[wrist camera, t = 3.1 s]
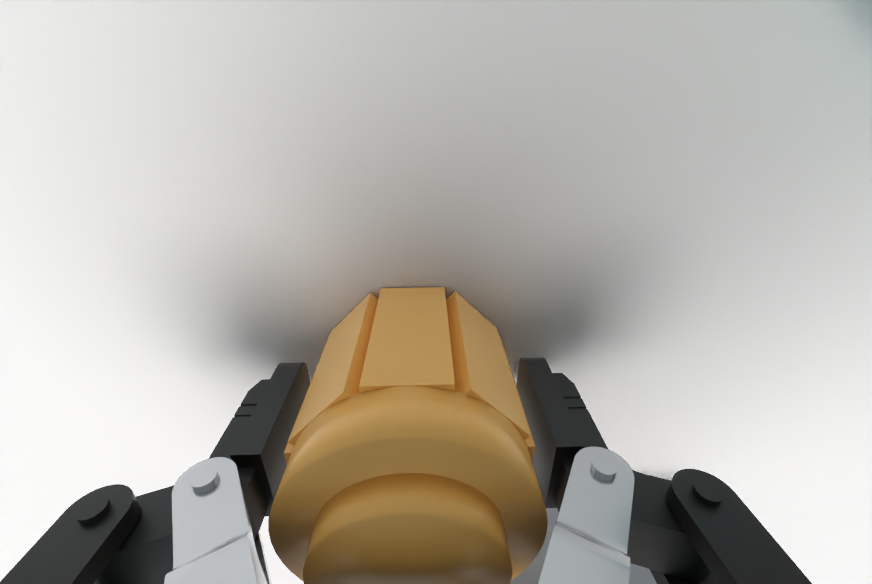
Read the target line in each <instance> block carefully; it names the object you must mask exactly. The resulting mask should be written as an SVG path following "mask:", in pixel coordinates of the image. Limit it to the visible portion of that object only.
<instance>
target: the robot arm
mask: <svg viewBox="0 0 872 584" xmlns="http://www.w3.org/2000/svg"><path fill="white" fill-rule="evenodd" d="M309 386H310V380H309V375H308V370H307V366H306V364H305V363H280V364H279V365H278V366H277V368H276V370H275V372H274V374H273V375H272V377H271V379H268V380H261V381H260V382H259V383H257V384H256V385H255V386H254V387H253V388H252V389H250V390H249V391H248V393H247V395H246V396H245V398H244V400H243V401H242V403H241V407H239V408H238V410H237V412H236V413H235V417H234V418H232V420H231V422H230V424H229V425H228V427H227V429H226V430H225V432H224V434H223V435H222V437H221V439H220V441H219V442H218V444H217V446H216V447H215V449H214V451H213V452H212V454H211V456H210V458H209V459H207V460H204V461H201V462H199V463H197V464H195V465H194V466H192V467H191V468H189V469H188V470H187V471H186V472H184V473H183V474H182V475H181V476H180V478H179V479H178V480H177V482H176V483H175V485H174V486H171V487H168V488H164V489H161V490H157V491H154V492H151V493H147V494H144V495H140V496H137V497H135V495H134V494H133V492H132V490H131V489H130V488H129V487H127V486H125V485H110V486H106V487H102V488H100V489H97V490H95V491H93V492H91V493H89V494H87V495H85V496H83V497H82V498H80V499H79V500H78V501H76V502H75V503H74V504H72V505H71V506H70V507H69V508H68V509H67V510H66V511H65V512H64V513H63V514H62V515H61V516H60V517H59V519H58V520H57V521H56V522H55V523H54V524H53V525H52V526H51V527H50V528H49V529H48V531H47V532H46V533H45V534H44V535H43V536H42V537H41V538H40V539H39V540H38V541H37V543H36V544H35V545H34V546H33V547H32V548H31V549H30V550H29V551H28V552H27V553H26V555H25V556H24V557H23V558H22V559H21V560H20V561H19V562H18V563H17V564H16V565H15V566H14V568H13V569H12V570H11V571H10V572H9V573H8V574H7V575H6V576H5V577H4V578H3V580H2V581H1V582H0V584H271V580H270V575H269V571H268V566H267V562H266V557H265V553H264V548H263V544H262V539H261V535H260V532H259V529H260V527H261V524H262V521H263V519H264V516H269V515H270V511H271V507H272V504H273V501H274V499H275V496H276V493H277V491H278V488H279V485H280V482H281V480H282V477H283V474H284V472H285V469H286V466H287V463H286V460H285V456H284V451H285V449H286V446H287V444H288V439H289V437H290V434H291V432H292V429H293V426H294V424H295V421H296V419H297V416H298V414H299V411H300V409H301V406H302V404H303V401H304V398H305V396H306V393H307V391H308V388H309ZM516 387H517V390H518V393H519V397H520V400H521V403H522V406H523V409H524V412H525V416H526V419H527V422H528V425H529V428H530V431H531V435H532V438H533V441H534V444H535V451H534V457H533V466H534V470H535V473H536V477H537V480H538V483H539V487H540V490H541V494H542V497H543V500H544V504H545V507H546V508H557V510H558V513H559V515H558V519H557V522H556V523H555V526H554V529H553V533H552V536H551V540H550V543H549V547H548V551H547V554H546V558H545V561H544V565H543V568H542V572H541V576H540V579H539V583H538V584H629V575H630V563H632V564H635V565H638V566H642V567H645V568H648V569H650V571H651V573H652V575H653V577H654V579H655V581H656V583H657V584H812V583H811V582H810V581H809V580H808V579H807V577H806V576H805V575H804V574H803V573H802V571H801V570H800V569H799V568H798V567H797V566H796V564H795V563H794V562H793V561H792V560H791V558H790V557H789V556H788V555H787V554H786V553H785V551H784V550H783V549H782V548H781V547H780V545H779V544H778V543H777V542H776V541H775V540H774V538H773V537H772V536H771V535H770V534H769V532H768V531H767V530H766V529H765V528H764V527H763V525H762V524H761V523H760V522H759V521H758V519H757V518H756V517H755V516H754V515H753V514H752V512H751V511H750V510H749V509H748V508H747V506H746V505H745V504H744V503H743V502H742V501H741V499H740V498H739V497H738V496H737V495H736V493H735V492H734V491H733V490H732V489H731V488H730V487H729V486H728V485H726V484H725V483H724V482H723V481H721V480H720V479H718V478H716V477H715V476H713V475H711V474H709V473H706V472H703V471H700V470H695V469H684V470H680V471H678V472H677V473H675V475H674V476H673V478H672V481H670V480H666V479H662V478H657V477H653V476H649V475H645V474H642V473H639V472H636V471H634V470H632V469H631V467H630V466H629V464H628V463H627V462H626V461H625V460H624V459H623V458H622V457H621V456H619V455H618V454H616V453H615V452H613V451H611V450H608V448H607V446H606V444H605V442H604V440H603V439H602V437H601V435H600V433H599V431H598V429H597V427H596V425H595V423H594V421H593V419H592V417H591V415H590V414H589V412H588V410H587V409H586V406H585V404H584V402H583V400H582V399H581V396H580V394H579V392H578V390H577V389H576V387H575V385H574V383H572V382H571V381H570V380H569V379H568V378H567V377H566V376H565V375H563V374H562V373H552V372H551V370H550V368H549V366H548V363H547V361H546V359H545V358H521V359H520V361H519V368H518V377H517V386H516Z"/></svg>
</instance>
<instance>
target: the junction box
mask: <svg viewBox="0 0 872 584" xmlns="http://www.w3.org/2000/svg"><path fill="white" fill-rule="evenodd" d="M546 511H547V519H548V526H547V534H546V537H545V541H544V544H543V546H542V548H541V550H540V551H539V553H538V555H537V556H536V557H535V559H534V560H533V561H532V563H531V564H530V565H529V566H528V567H527V568H526V569H525V570H524V571H523V572H522V573H520V574H519V575H518V576H517V577H515V578H514V579H513V580H511V583H510V584H538V583H539V579H540V576H541V572H542V568H543V565H544V561H545V558H546V554H547V551H548V547H549V543H550V540H551V536H552V533H553V529H554V526H555V523H556V522H557V519H558V515H559V513H558V510H557V508H546ZM629 584H657V583H656V581H655V579H654V577H653V575H652V573H651V571H650V569H648V568H645V567H642V566H638V565H635V564H632V563H630V575H629Z"/></svg>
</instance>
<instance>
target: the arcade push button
mask: <svg viewBox="0 0 872 584" xmlns="http://www.w3.org/2000/svg"><path fill="white" fill-rule="evenodd" d="M534 451H535V444H534V441H533V438H532V435H531V431H530V428H529V425H528V422H527V419H526V416H525V412H524V409H523V406H522V403H521V400H520V397H519V393H518V390H517V387H516V384H515V381H514V378H513V374H512V371H511V368H510V365H509V362H508V359H507V355H506V352H505V349H504V346H503V343H502V340H501V336H499V333H498V330H497V327H495V326H494V325H493V324H492V323H491V322H490V321H489V320H488V319H486V318H485V317H484V316H483V315H482V314H481V313H480V312H479V311H477V310H476V309H475V308H474V307H473V306H472V305H471V304H470V303H468V302H467V301H466V300H465V299H464V298H463V297H462V296H461V295H459V294H458V293H457V292H456V291H455V292H454V293H452V294H451V295H450V296H449V297H448V298H447V299H446V296H445V287H416V288H381V290H380V294H379V299H378V298H377V297H375V296H374V295H373V294H372V293H369V294H368V295H367V296H366V297H365V298H364V299H363V300H362V301H361V302H360V303H359V304H358V305H357V306H356V307H355V308H354V309H353V310H352V311H351V312H350V313H349V314H348V315H347V316H346V317H345V318H344V319H343V320H342V321H341V322H340V323H339V324H338V325H337V326H336V327H335V328H334V329H333V330H332V331H331V332H330V335H329V337H328V340H327V342H326V345H325V347H324V350H323V353H322V355H321V358H320V360H319V363H318V365H317V368H316V370H315V373H314V375H313V378H312V381H311V383H310V386H309V388H308V391H307V393H306V396H305V398H304V401H303V404H302V406H301V409H300V411H299V414H298V416H297V419H296V421H295V424H294V426H293V429H292V432H291V434H290V437H289V439H288V444H287V446H286V449H285V451H284V456H285V460H286V463H287V466H286V469H285V472H284V474H283V477H282V480H281V482H280V485H279V488H278V491H277V493H276V496H275V499H274V501H273V504H272V507H271V511H270V515H269V535H270V539H271V543H272V545H273V547H274V550H275V552H276V553H277V555H278V556H279V558H280V559H281V561H282V562H283V563H284V564H285V566H286V567H287V568H288V569H289V570H290V571H291V572H292V573H294V574H295V575H296V576H297V577H298V578H300V579H301V580H302V581H304V584H510V583H511V580H513V579H514V578H515V577H517V576H518V575H519V574H520V573H522V572H523V571H524V570H525V569H526V568H527V567H528V566H529V565H530V564H531V563H532V561H533V560H534V559H535V557H536V556H537V555H538V553H539V551H540V550H541V548H542V546H543V544H544V541H545V537H546V534H547V526H548V519H547V511H546V507H545V504H544V500H543V497H542V494H541V490H540V487H539V483H538V480H537V477H536V473H535V470H534V466H533V457H534Z"/></svg>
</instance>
